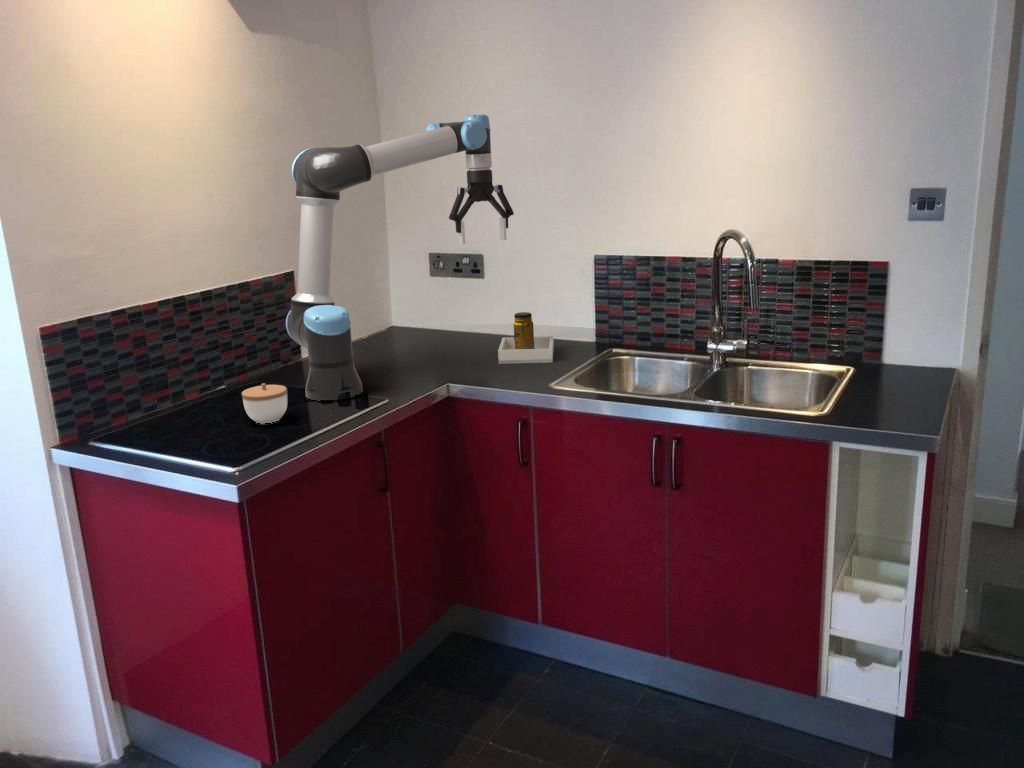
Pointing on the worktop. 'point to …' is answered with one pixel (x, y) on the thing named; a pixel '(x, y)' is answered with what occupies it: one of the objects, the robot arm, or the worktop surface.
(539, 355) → the tray
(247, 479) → the worktop surface
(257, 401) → the lidded jar
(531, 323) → the condiment
